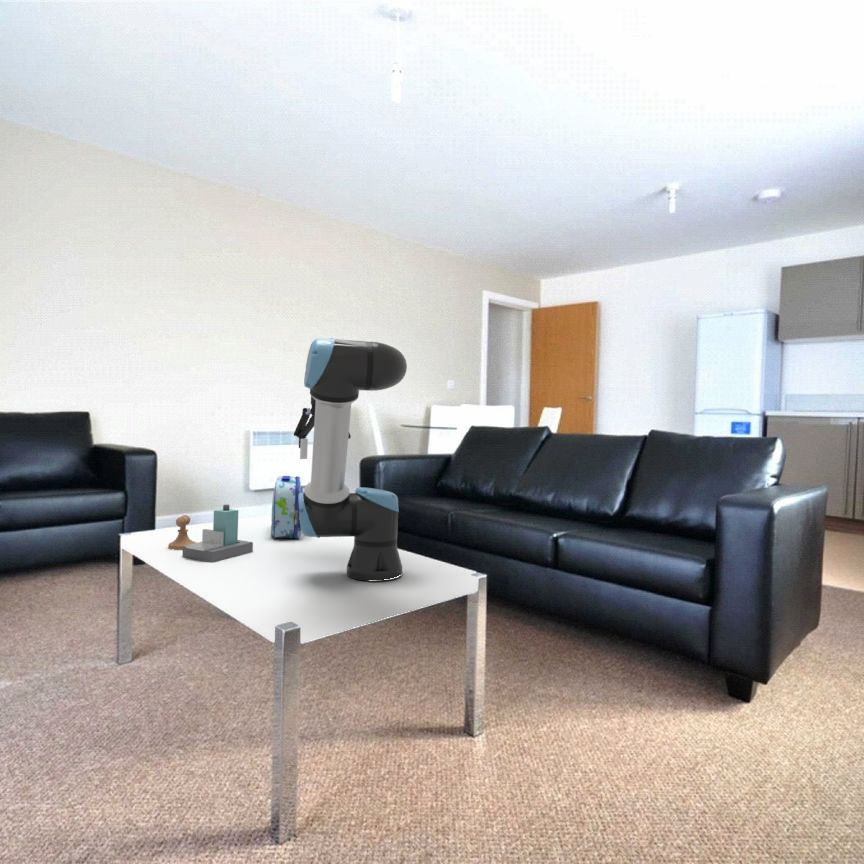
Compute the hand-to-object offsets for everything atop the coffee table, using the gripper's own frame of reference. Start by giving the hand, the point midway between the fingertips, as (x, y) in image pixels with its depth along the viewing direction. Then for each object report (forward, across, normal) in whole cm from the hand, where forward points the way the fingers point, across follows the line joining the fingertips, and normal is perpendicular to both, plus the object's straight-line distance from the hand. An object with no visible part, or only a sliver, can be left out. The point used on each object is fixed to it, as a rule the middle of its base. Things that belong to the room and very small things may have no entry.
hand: (320, 460), depth 184 cm
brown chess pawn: (+29, +37, +20) cm, 51 cm away
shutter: (+26, +21, +26) cm, 42 cm away
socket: (+29, +21, +21) cm, 41 cm away
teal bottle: (+29, +21, +18) cm, 40 cm away
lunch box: (+29, +25, -15) cm, 41 cm away
